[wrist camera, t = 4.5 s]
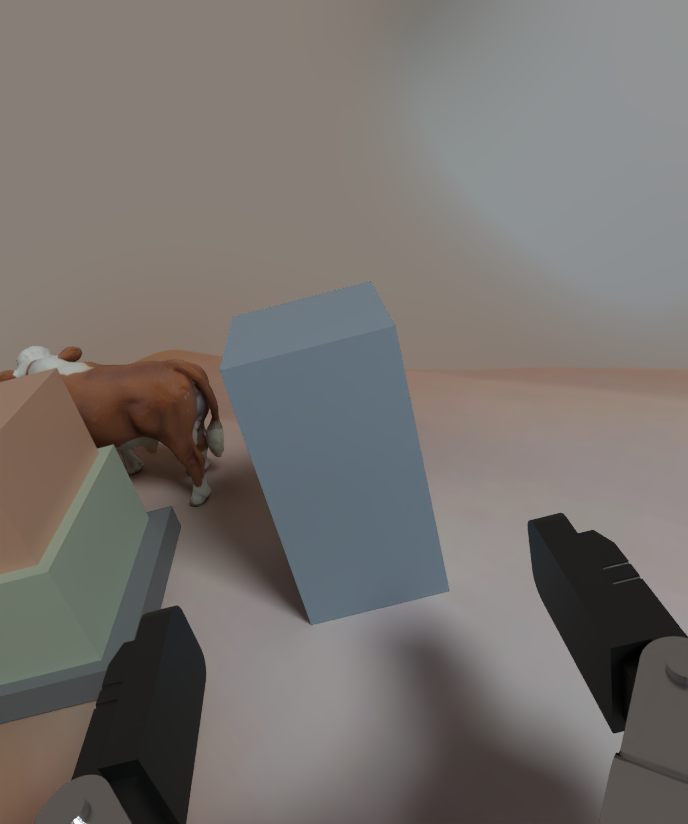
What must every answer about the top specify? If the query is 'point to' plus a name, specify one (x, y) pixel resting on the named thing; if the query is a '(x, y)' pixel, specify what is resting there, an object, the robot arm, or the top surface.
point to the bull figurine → (139, 407)
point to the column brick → (336, 450)
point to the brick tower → (68, 551)
